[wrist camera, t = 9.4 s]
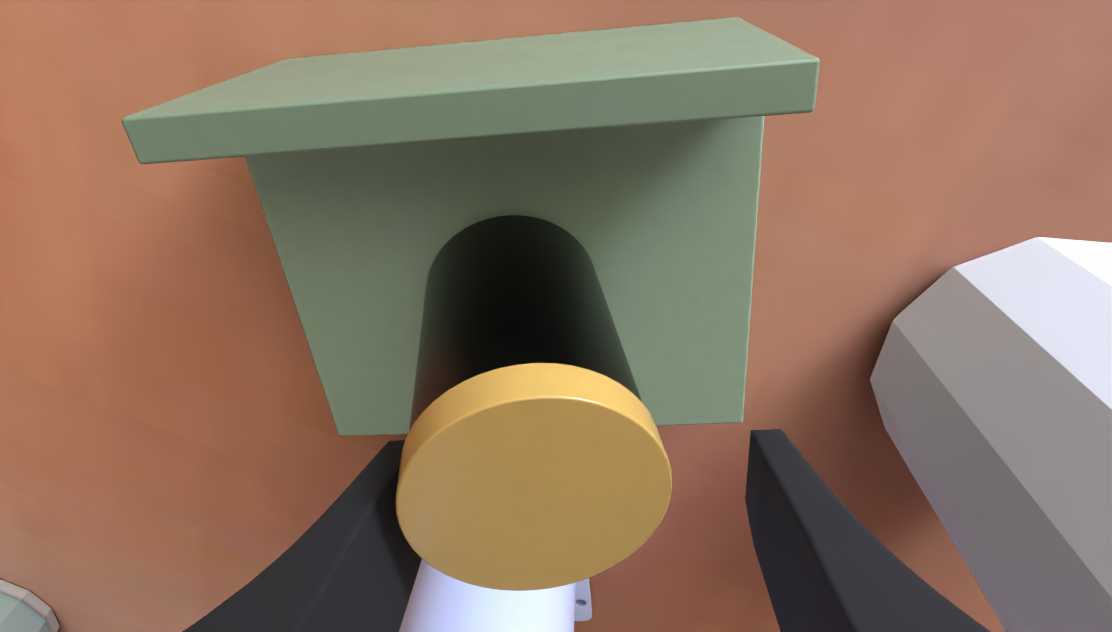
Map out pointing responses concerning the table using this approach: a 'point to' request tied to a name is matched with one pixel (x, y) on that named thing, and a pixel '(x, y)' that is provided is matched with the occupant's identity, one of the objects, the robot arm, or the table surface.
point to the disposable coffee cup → (24, 611)
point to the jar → (1014, 425)
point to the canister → (525, 417)
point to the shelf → (510, 189)
